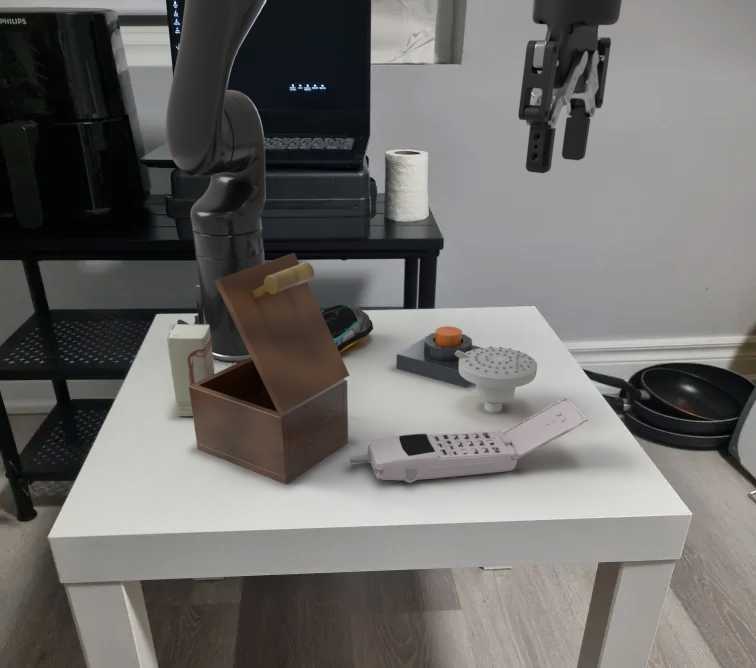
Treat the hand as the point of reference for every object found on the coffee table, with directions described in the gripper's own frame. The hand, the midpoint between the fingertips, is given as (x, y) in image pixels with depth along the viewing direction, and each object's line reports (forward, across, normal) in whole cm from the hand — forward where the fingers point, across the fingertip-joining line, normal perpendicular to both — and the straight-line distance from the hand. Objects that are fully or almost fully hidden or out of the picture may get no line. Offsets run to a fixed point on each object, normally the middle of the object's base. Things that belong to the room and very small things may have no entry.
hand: (555, 165), depth 72 cm
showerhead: (+30, -4, -6) cm, 30 cm away
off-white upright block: (+30, +17, -36) cm, 50 cm away
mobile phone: (+30, +10, -2) cm, 31 cm away
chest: (+29, +19, -22) cm, 41 cm away
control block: (+29, -12, -17) cm, 36 cm away
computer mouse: (+30, -8, -35) cm, 46 cm away
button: (+26, -12, -17) cm, 33 cm away
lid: (+15, +19, -19) cm, 31 cm away
